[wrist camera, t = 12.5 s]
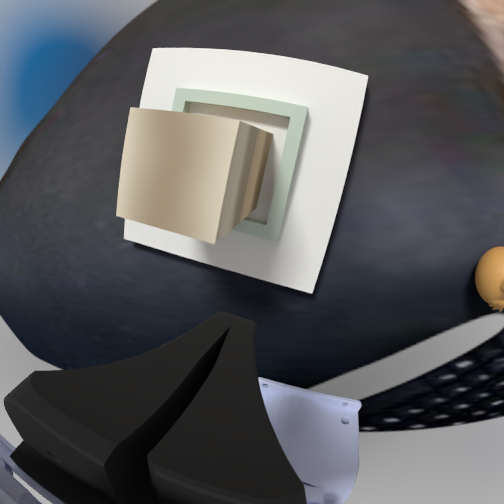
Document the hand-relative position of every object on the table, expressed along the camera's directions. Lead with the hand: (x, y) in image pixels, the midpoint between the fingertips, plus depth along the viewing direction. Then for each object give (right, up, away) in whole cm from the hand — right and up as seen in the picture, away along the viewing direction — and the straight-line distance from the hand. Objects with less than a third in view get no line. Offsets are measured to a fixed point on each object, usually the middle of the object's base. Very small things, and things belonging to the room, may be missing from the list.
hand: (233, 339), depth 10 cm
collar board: (-1, +9, +8) cm, 12 cm away
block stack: (-1, +8, +8) cm, 11 cm away
